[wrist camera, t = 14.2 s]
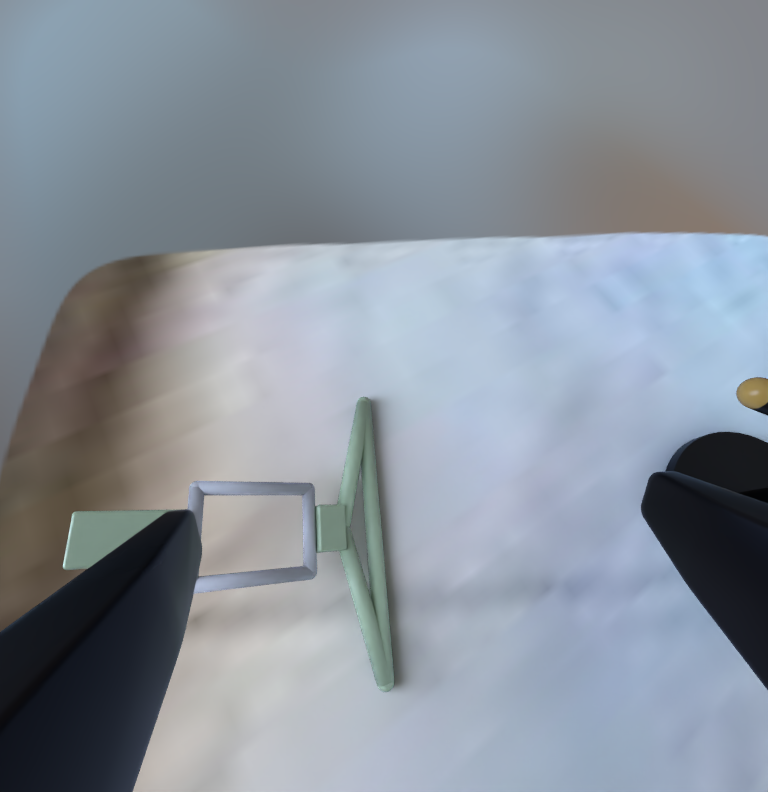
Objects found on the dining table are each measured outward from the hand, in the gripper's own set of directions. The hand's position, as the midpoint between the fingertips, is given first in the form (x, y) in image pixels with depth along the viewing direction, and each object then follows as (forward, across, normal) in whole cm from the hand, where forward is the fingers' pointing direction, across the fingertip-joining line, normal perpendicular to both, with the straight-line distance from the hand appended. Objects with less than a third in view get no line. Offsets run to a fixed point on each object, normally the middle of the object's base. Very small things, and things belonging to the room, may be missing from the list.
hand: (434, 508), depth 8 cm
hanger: (+8, 0, +7) cm, 11 cm away
